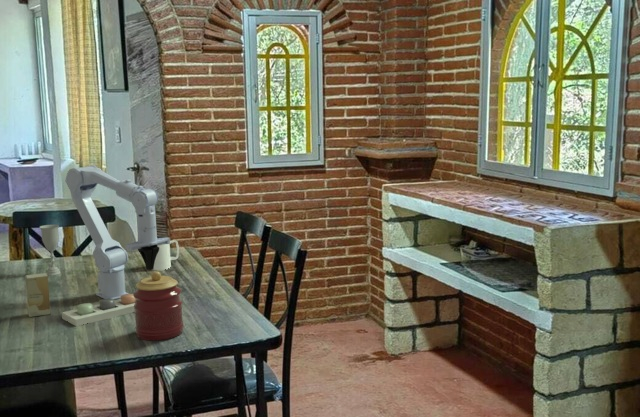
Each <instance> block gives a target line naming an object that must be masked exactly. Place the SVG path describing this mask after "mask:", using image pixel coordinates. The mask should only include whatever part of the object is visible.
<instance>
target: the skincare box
mask: <svg viewBox="0 0 640 417" xmlns="http://www.w3.org/2000/svg"><path fill="white" fill-rule="evenodd" d="M49 285H50V284H49V275H47V272H45V273H43V272H42V273H33V274H26V275H25V288H26V292H25V293H26V307H27V315H28V317H29V318H31V317H37V316H46V315H51V305H50V304H51V303H50V302H51V301H50V289H49V288H50V287H49Z"/></svg>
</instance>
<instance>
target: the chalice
mask: <svg viewBox="0 0 640 417" xmlns="http://www.w3.org/2000/svg"><path fill="white" fill-rule="evenodd" d="M59 227H60V225H59V224H45V225H40V226H39V229H40V232H41V233H40V234H41V241H42V244H43V245H44V247H45V248H46V250H47V251H49V252H50V255H49V258H50V260H49V261H50V264H51V266H50V267H48V269H47V272H46V273H47V275H48V276H56V275H60V274H61V271H60V269H59V267H58V266H56V264H55V262H56V260H55V255H54V251H56V249H57V246H58V244H59V240H60V235H59V234H60V232H59V229H60V228H59Z"/></svg>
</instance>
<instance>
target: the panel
mask: <svg viewBox="0 0 640 417" xmlns="http://www.w3.org/2000/svg"><path fill="white" fill-rule="evenodd" d="M114 302H115V308H112V309H108V310H101V309H100V304H99V303H97V304H92V306H93V313H91V314H87V315H82V316H80V315H78V314H77V308H75V309H71V310H70V309H69V310H66V311H63V312H62V311H61V317H62V320H64V321H66V322H67V321H68V323H70V324H71V325H73V326H75V327H80V326H84V325H88V324H92V323H97V322H101V321H104V320H105V321H106V320H108V319H112V318H117V317H121V316H124V315H129V314H133V313H135V308H134V304H135V303H133V304H129V305H123V304H121V298H118V299H114ZM87 323H88V324H87ZM83 324H84V325H83ZM79 325H80V326H79Z"/></svg>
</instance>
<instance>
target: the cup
mask: <svg viewBox="0 0 640 417" xmlns="http://www.w3.org/2000/svg"><path fill="white" fill-rule="evenodd" d="M173 243H175V245H176V256H171V247H170V245H171V244H173ZM157 247H159V252H158V254H157V256H156V259H155V263H154V269H153V270H152V271H154V272H155V271H158V272H159V271H166V270H168V268H169V269H171V268H172V264H171V262H172V261H175V260H178V258H179V256H180V246H179V242H178V240H175V239H174V240H170V244H163V245H157ZM170 267H171V268H170ZM165 269H166V270H165Z"/></svg>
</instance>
